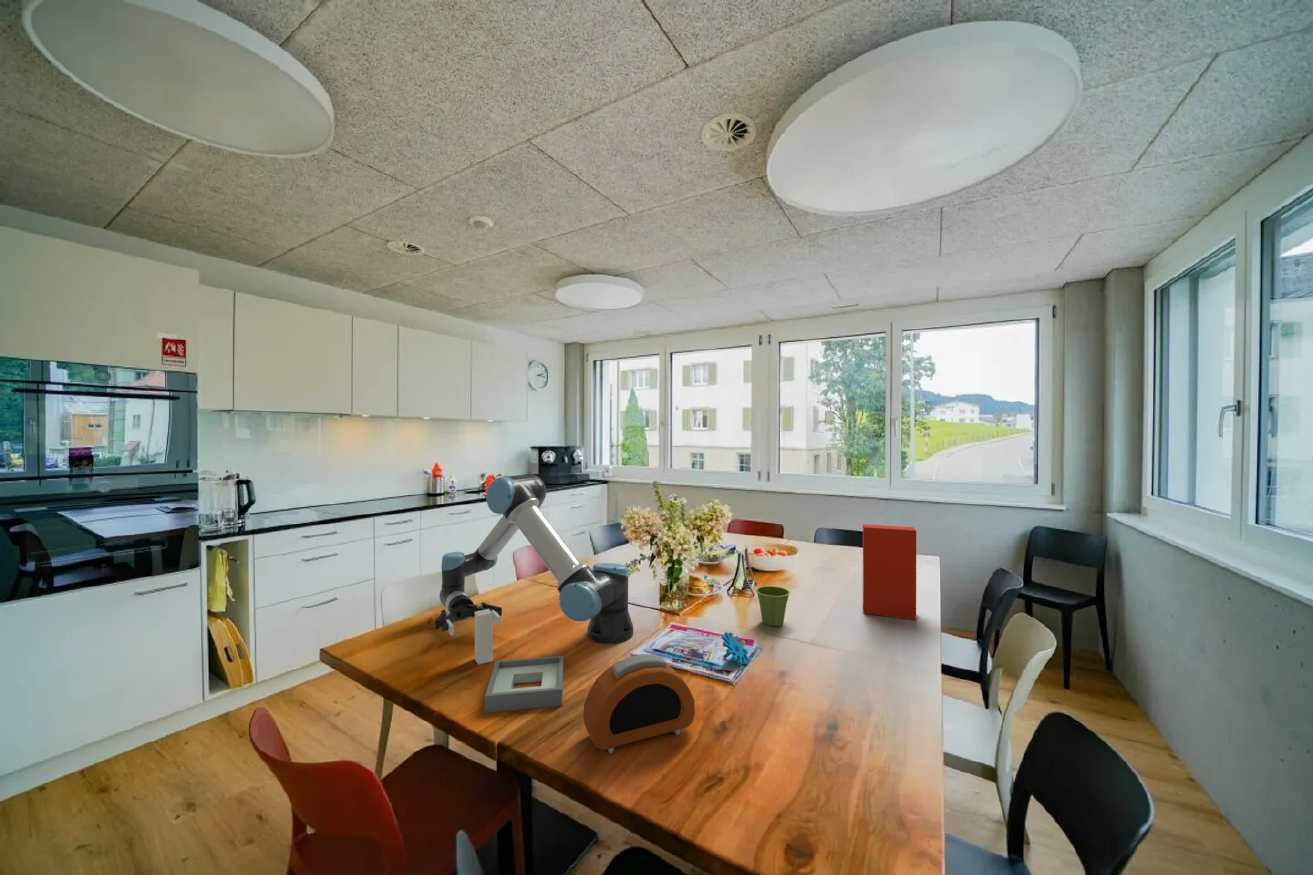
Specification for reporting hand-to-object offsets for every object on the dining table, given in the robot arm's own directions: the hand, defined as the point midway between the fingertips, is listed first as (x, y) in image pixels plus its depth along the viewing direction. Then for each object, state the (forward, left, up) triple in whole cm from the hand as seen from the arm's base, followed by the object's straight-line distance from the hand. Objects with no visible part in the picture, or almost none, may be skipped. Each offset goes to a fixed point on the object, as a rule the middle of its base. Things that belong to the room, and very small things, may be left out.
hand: (476, 625), depth 146 cm
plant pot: (-98, -6, -8) cm, 99 cm away
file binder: (-144, -7, -8) cm, 145 cm away
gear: (-76, +19, -8) cm, 78 cm away
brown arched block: (-43, +48, -8) cm, 65 cm away
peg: (-3, +6, -8) cm, 10 cm away
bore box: (-17, +25, -8) cm, 31 cm away
